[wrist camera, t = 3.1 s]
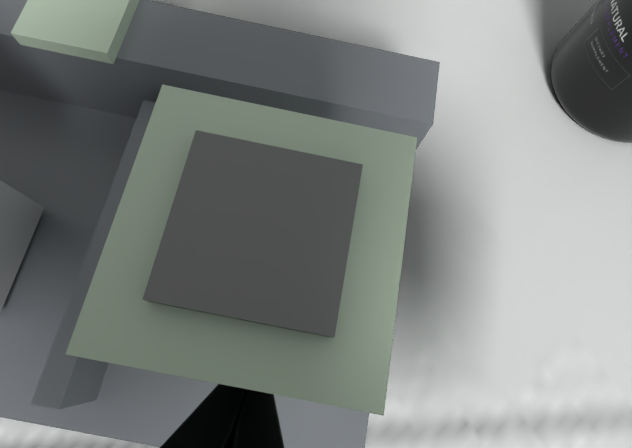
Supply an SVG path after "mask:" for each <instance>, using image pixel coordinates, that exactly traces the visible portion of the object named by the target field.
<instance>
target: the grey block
mask: <svg viewBox="0 0 632 448" xmlns="http://www.w3.org/2000/svg"><path fill="white" fill-rule="evenodd" d="M43 210H44V207H43V206H41V205H40V204H38V203H36V202H35V201H33V200H32V199H30V198H28V197H27V196H25V195H23V194H22V193H20V192H19V191H17V190H15V189H14V188H12V187H10V186H9V185H7V184H6V183H4V182H2V181H1V180H0V312H1V310H2V307H3V305H4V303H5V300H6V298H7V295H8V293H9V291H10V288H11V286H12V283H13V281H14V279H15V276H16V274H17V272H18V269H19V267H20V264H21V262H22V260H23V257H24V255H25V252H26V250H27V248H28V245H29V243H30V241H31V238H32V236H33V233H34V231H35V229H36V226H37V224H38V221H39V219H40V217H41V214H42V212H43Z"/></svg>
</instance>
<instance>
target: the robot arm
mask: <svg viewBox="0 0 632 448" xmlns="http://www.w3.org/2000/svg"><path fill="white" fill-rule="evenodd" d="M160 448H285V447H284V442H283V437H282V432H281V427H280V422H279V417H278V412H277V407H276V402H275V397H274V394H269V393H264V392H259V391H254V390H248V389H243V388H238V387H233V386H228V385H222V384H218V385H217V386H216V387H215V388H214V389H213V390H212V391H211V392H210V394H209V395H208V396H207V397H206V398H205V399H204V400H203V401H202V402H201V403H200V404H199V405H198V407H197V408H196V409H195V410H194V411H193V412H192V413H191V414H190V415H189V416H188V417H187V419H186V420H185V421H184V422H183V423H182V424H181V425H180V426H179V427H178V428H177V429H176V430H175V432H174V433H173V434H172V435H171V436H170V437H169V438H168V439H167V440H166V441H165V442H164V444H163V445H162V446H161V447H160Z"/></svg>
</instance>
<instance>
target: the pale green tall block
mask: <svg viewBox="0 0 632 448" xmlns="http://www.w3.org/2000/svg"><path fill="white" fill-rule="evenodd" d="M416 143H417V137H413V136H408V135H403V134H398V133H394V132H389V131H384V130H379V129H374V128H369V127H365V126H360V125H355V124H350V123H345V122H341V121H336V120H331V119H326V118H321V117H317V116H312V115H307V114H302V113H297V112H293V111H288V110H283V109H278V108H273V107H268V106H264V105H259V104H254V103H249V102H244V101H240V100H235V99H230V98H225V97H220V96H216V95H211V94H206V93H201V92H196V91H192V90H187V89H182V88H177V87H172V86H167V85H163V84H162V87H161V89H160V92H159V95H158V98H157V100H156V103H155V106H154V109H153V112H152V114H151V117H150V120H149V123H148V126H147V128H146V131H145V134H144V137H143V139H142V142H141V145H140V148H139V151H138V153H137V156H136V159H135V162H134V165H133V167H132V170H131V173H130V176H129V178H128V181H127V184H126V187H125V190H124V192H123V195H122V198H121V201H120V204H119V206H118V209H117V212H116V215H115V217H114V220H113V223H112V226H111V229H110V231H109V234H108V237H107V240H106V242H105V245H104V248H103V251H102V254H101V256H100V259H99V262H98V265H97V268H96V270H95V273H94V276H93V279H92V281H91V284H90V287H89V290H88V293H87V295H86V298H85V301H84V304H83V307H82V309H81V312H80V315H79V318H78V320H77V323H76V326H75V329H74V332H73V334H72V337H71V340H70V343H69V346H68V348H67V351H66V355H71V356H77V357H82V358H87V359H92V360H97V361H103V362H108V363H113V364H118V365H123V366H129V367H134V368H139V369H144V370H149V371H155V372H160V373H165V374H170V375H176V376H181V377H186V378H191V379H196V380H202V381H207V382H212V383H217V384H222V385H228V386H233V387H238V388H243V389H248V390H254V391H259V392H264V393H269V394H274V395H280V396H285V397H290V398H295V399H300V400H306V401H311V402H316V403H321V404H327V405H332V406H337V407H342V408H347V409H353V410H358V411H363V412H368V413H373V414H379V415H384V408H385V400H386V391H387V383H388V375H389V367H390V358H391V350H392V342H393V334H394V325H395V317H396V309H397V300H398V292H399V284H400V276H401V267H402V259H403V251H404V243H405V234H406V226H407V218H408V210H409V201H410V193H411V185H412V177H413V168H414V160H415V152H416Z"/></svg>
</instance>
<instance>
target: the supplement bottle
mask: <svg viewBox="0 0 632 448" xmlns="http://www.w3.org/2000/svg"><path fill="white" fill-rule="evenodd" d="M551 80H552V85H553V89H554V92H555V94H556V97H557V98H558V100H559V102H560V104H561V105H562V107H563V108H564V110H565V111H566V112H567V113H568V115H569V116H570V117H571V118H572V119H573V120H574V121H575V122H577V123H578V124H579V125H580V126H582V127H583V128H585V129H586V130H588V131H590V132H591V133H593V134H595V135H597V136H600V137H602V138H605V139H608V140H612V141H617V142H623V143H632V0H598V1H597V2H596V3H595V4H594V5H593V6H592V7H591V8H590V9H589V11H588V12H587V13H586V14H585V15H584V16H583V17H582V18H581V19H580V20H579V21H578V23H577V24H576V25H575V26H574V27H573V28H572V29H571V30H570V32H569V33H568V34H567V35H566V36H565V37H564V39H563V40H562V41H561V42H560V44H559V45H558V47H557V49H556V51H555V53H554V56H553V59H552V64H551Z"/></svg>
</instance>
